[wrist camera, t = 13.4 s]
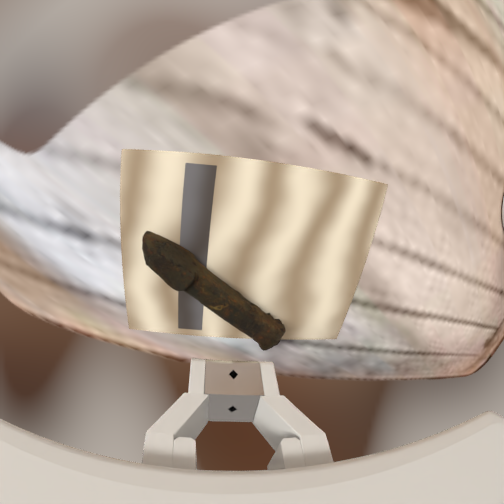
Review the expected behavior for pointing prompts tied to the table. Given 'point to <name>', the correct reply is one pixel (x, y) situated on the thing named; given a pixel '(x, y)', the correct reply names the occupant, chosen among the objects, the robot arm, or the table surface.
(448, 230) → the table surface
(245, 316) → the hand tool
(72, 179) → the table surface
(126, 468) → the robot arm
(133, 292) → the sheet
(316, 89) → the table surface
